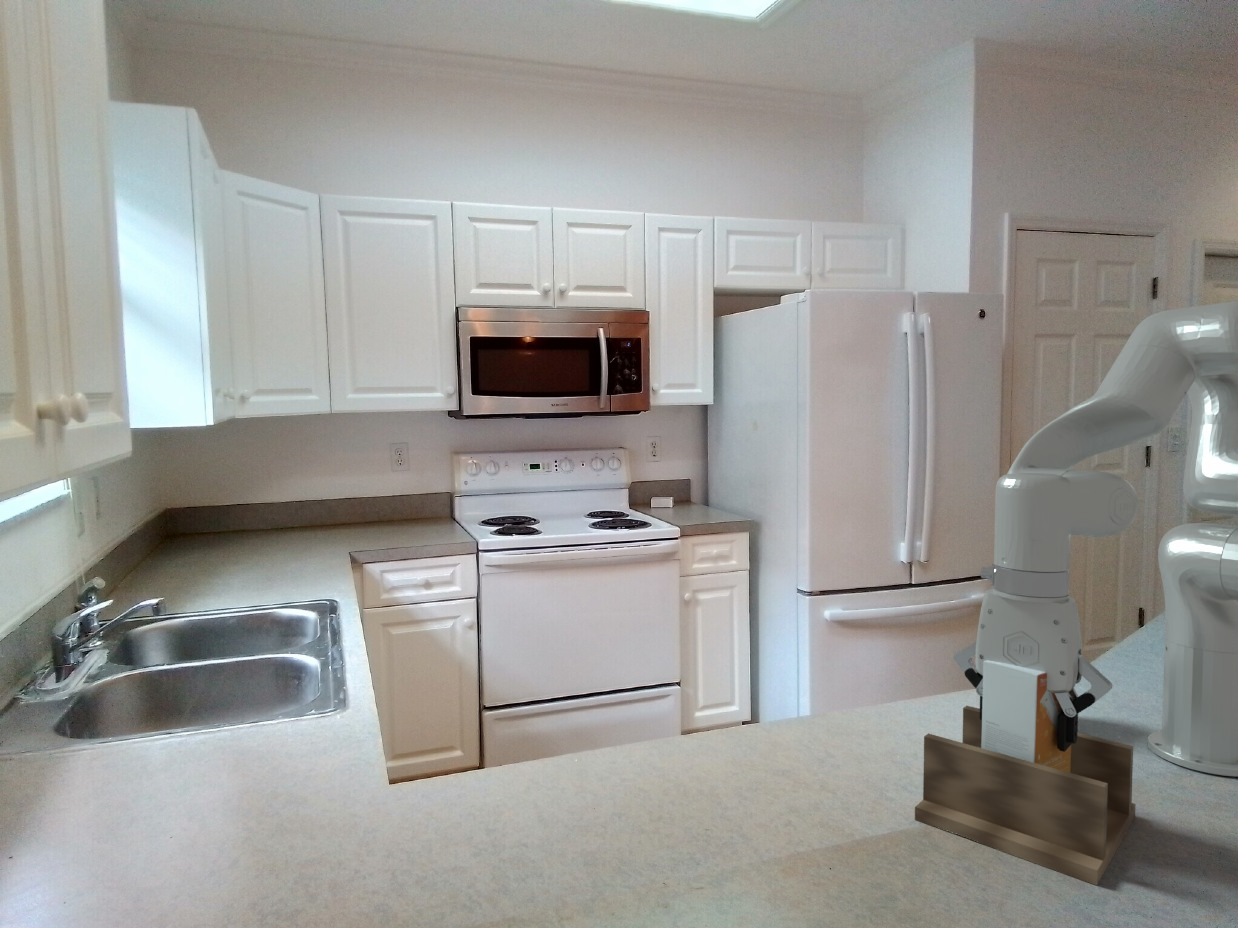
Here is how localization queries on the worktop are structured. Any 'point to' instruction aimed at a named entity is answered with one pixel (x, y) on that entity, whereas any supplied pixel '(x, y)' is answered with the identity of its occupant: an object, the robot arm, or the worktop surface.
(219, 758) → the worktop surface
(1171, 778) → the worktop surface
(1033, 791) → the book rack
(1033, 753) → the small box
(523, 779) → the worktop surface
